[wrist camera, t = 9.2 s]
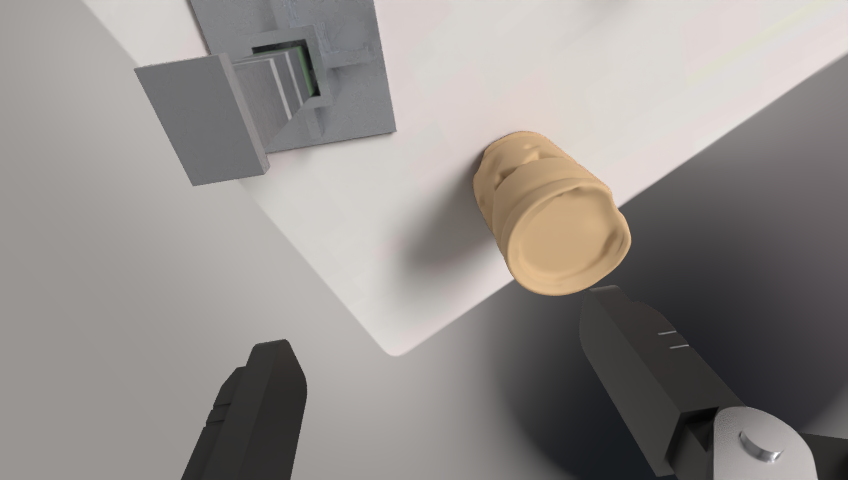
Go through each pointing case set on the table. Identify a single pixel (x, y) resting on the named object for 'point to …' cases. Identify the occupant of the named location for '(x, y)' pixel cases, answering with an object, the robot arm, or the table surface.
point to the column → (227, 108)
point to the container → (549, 215)
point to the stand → (312, 61)
